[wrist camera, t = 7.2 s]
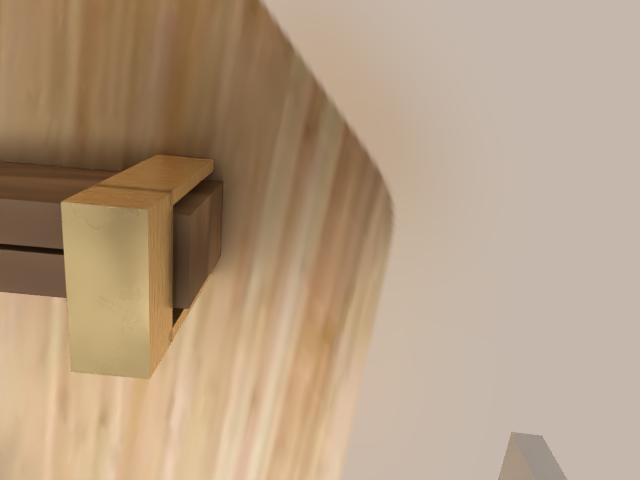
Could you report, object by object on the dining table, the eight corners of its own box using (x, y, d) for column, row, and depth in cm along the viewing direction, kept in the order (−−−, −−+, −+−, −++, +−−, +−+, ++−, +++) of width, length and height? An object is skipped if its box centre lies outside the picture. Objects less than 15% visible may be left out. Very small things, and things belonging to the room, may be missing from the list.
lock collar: (157, 154, 28) (60, 201, 18) (213, 159, 28) (148, 209, 18) (157, 271, 30) (71, 371, 20) (210, 276, 30) (149, 379, 20)
